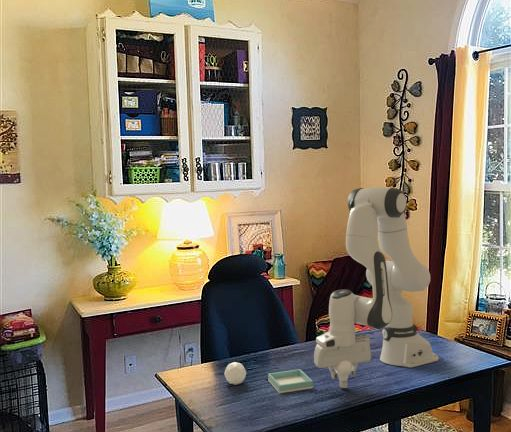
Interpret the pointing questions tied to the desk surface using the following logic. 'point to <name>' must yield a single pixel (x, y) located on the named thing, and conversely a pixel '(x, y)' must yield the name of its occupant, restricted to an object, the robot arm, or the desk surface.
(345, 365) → the lightbulb
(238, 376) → the geometric ball
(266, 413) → the desk surface
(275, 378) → the dish
